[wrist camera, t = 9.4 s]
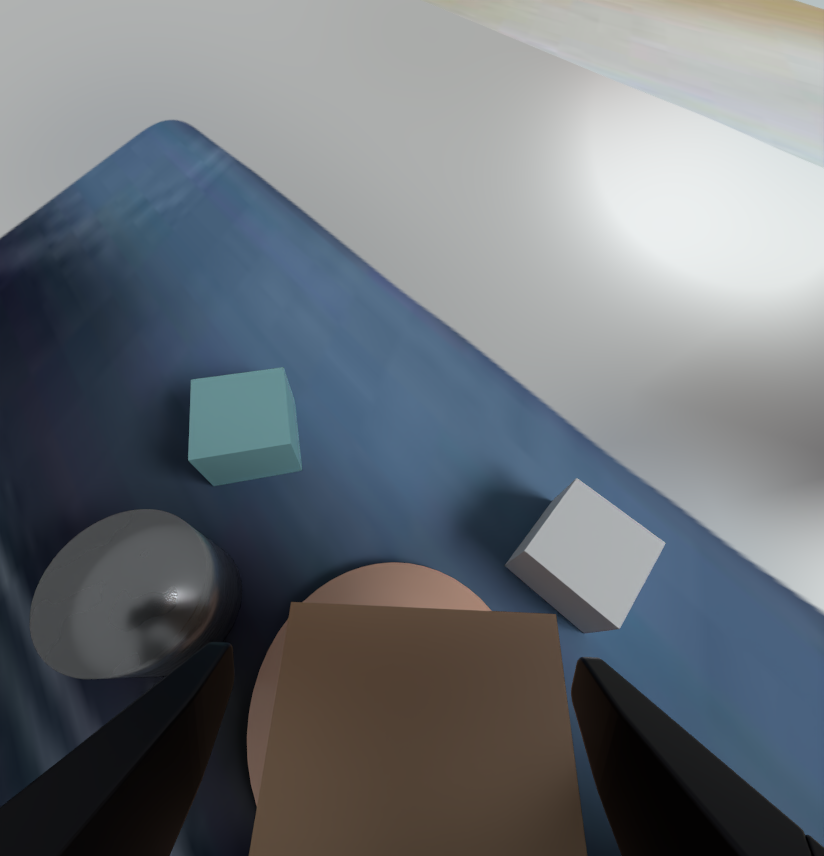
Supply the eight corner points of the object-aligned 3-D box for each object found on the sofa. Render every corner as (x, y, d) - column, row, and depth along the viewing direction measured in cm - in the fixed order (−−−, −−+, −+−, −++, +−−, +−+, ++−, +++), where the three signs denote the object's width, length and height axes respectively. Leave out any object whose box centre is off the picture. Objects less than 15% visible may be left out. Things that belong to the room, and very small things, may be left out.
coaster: (532, 920, 13) (539, 931, 12) (209, 881, 12) (202, 891, 12) (523, 580, 18) (527, 578, 17) (291, 551, 17) (289, 548, 17)
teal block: (302, 472, 19) (290, 443, 17) (214, 487, 19) (188, 460, 16) (295, 402, 21) (283, 367, 19) (214, 414, 21) (191, 379, 18)
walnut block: (455, 791, 13) (610, 1032, 5) (317, 789, 13) (217, 1040, 5) (453, 638, 16) (556, 614, 7) (335, 633, 15) (291, 602, 7)
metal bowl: (232, 669, 15) (188, 670, 12) (89, 683, 15) (0, 687, 11) (248, 536, 18) (216, 504, 14) (126, 544, 17) (63, 513, 14)
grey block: (625, 559, 18) (665, 542, 16) (582, 633, 17) (619, 629, 14) (550, 502, 20) (576, 478, 17) (503, 566, 18) (524, 550, 15)
